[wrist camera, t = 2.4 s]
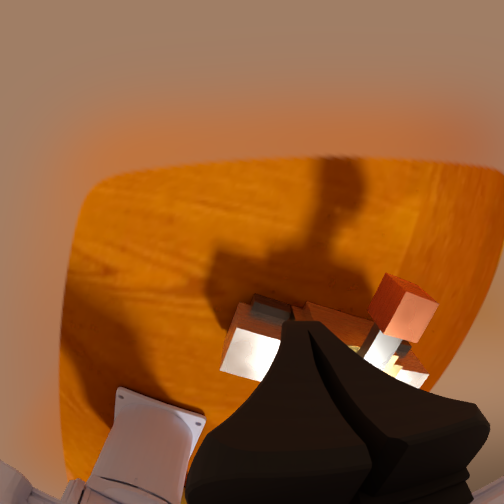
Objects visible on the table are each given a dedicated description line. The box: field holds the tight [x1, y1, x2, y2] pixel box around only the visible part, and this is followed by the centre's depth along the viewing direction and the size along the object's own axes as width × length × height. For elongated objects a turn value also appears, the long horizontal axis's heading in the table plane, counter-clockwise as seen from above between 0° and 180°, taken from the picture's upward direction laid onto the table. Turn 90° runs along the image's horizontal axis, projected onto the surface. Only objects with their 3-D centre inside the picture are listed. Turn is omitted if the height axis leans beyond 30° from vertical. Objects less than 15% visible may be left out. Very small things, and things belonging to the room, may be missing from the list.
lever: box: [357, 273, 439, 371], centre depth 14 cm, size 8×2×2 cm, turn 160°
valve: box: [220, 294, 429, 388], centre depth 18 cm, size 6×14×5 cm, turn 70°
